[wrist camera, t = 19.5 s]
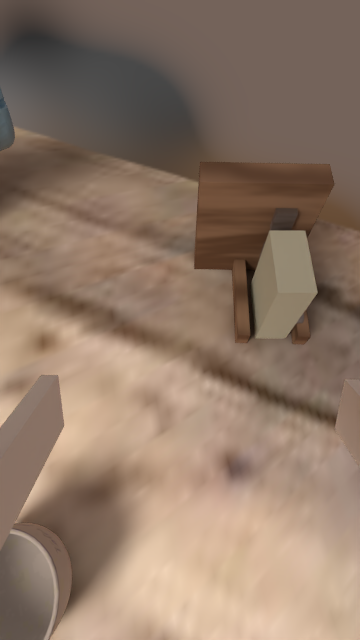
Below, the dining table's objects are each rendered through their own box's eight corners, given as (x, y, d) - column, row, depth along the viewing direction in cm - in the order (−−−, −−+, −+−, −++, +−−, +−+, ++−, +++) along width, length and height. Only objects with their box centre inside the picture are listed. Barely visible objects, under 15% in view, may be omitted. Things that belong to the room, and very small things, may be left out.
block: (293, 338, 46) (328, 292, 35) (255, 338, 46) (278, 292, 35) (285, 286, 49) (315, 230, 38) (249, 286, 49) (269, 230, 38)
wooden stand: (304, 344, 45) (361, 278, 31) (193, 341, 46) (199, 274, 31) (291, 254, 52) (334, 164, 37) (194, 252, 52) (200, 161, 37)
